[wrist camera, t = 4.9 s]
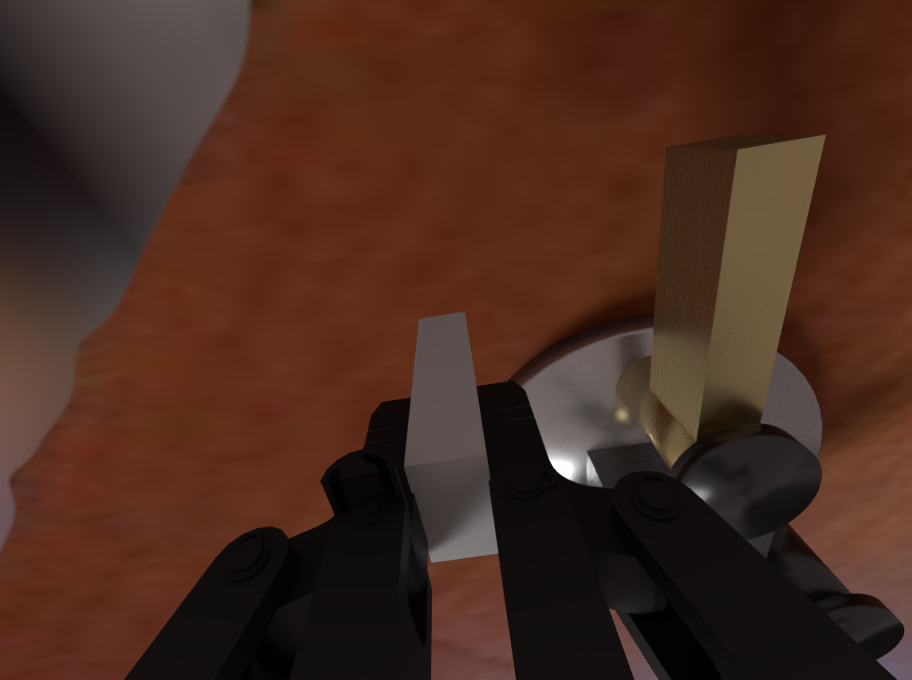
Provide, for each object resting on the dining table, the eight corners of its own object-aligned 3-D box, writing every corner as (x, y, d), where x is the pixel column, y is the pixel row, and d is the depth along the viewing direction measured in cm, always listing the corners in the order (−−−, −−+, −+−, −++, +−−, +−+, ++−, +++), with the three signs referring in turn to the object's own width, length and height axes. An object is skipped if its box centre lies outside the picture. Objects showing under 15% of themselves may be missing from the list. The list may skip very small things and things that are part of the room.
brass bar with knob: (694, 414, 23) (804, 533, 16) (603, 427, 23) (672, 550, 16) (732, 130, 17) (943, 123, 10) (605, 152, 17) (722, 160, 10)
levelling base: (835, 285, 22) (1098, 383, 13) (762, 546, 32) (887, 703, 23) (443, 346, 23) (444, 476, 14) (488, 582, 33) (506, 747, 24)
